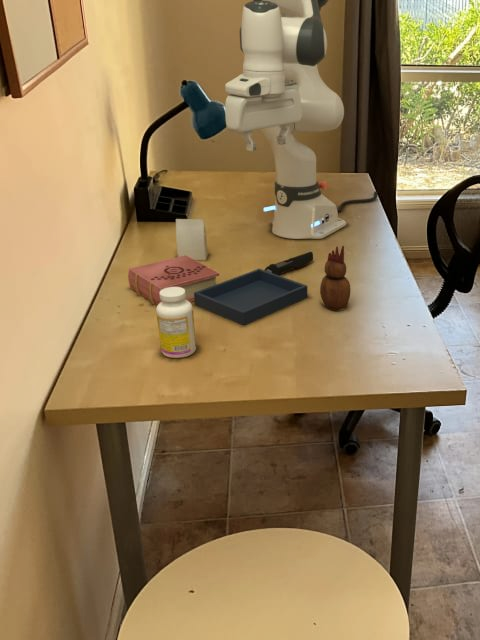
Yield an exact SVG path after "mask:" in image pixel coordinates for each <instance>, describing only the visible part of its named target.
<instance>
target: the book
mask: <svg viewBox="0 0 480 640" xmlns="http://www.w3.org/2000/svg"><path fill="white" fill-rule="evenodd" d="M217 277H220V272H219V271H217V270H215V269H213V268H212V267H209V266H208V265H206V264H204V263H202V262H200V261H199V260H194V259H193V258H191V257H189V256H187V255H184V256H180V257H178V256H176V257H172V258H168V259H164V260H159V261H156V262H151V263H147V264H143V265H138V266H134V267H130V268H128V273H127V279H128V284H129V287H130V289H131V290H132V291H133V292H135V293H137V295H138V296H142V298H144V299H146V300H147V301H150V302H151V304H152V305H155V306H156V307H157V306H158V304H159V303H161V302H162V301H161V299H160V291H161V290H162V289H164V288H168V287H181V288H183V289H185V292H186V298H185V300H187V301H189V302H190V303H191V302H195V300H194V293H195V292H197V291H200V290H203V289H206V288H208V287H211V286H214V285H216V284H217V281H216V279H217Z"/></svg>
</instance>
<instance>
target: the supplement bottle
mask: <svg viewBox="0 0 480 640" xmlns="http://www.w3.org/2000/svg"><path fill="white" fill-rule="evenodd" d="M185 298H186V292H185V289H183V288H181V287H168V288H164V289H162V290H161V291H160V299H161V301H162V302H161V303H159V304H158V306H157V305H156V309H155V313H156V321H157V328H158V329H157V330H158V338H159V342H160V343H159V344H160V350H161V353H162V355H163V356H165V357H167V358H169V359H184V358H186V357H189V356H191V355H193V354H195V352H196V351H197V339H196V329H195V328H196V327H195V320H194V319H195V318H194V309H193V305H192V303H191V302H189V301H187V300H185Z"/></svg>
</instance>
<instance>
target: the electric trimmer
mask: <svg viewBox="0 0 480 640" xmlns="http://www.w3.org/2000/svg"><path fill="white" fill-rule="evenodd" d="M313 260H314V253H313V252H312V251H308V252H305V253H301V254H300V255H296V256H294V257H290V258H288V259H285V260H282V261H279V262H277V263H270V264H269V265H267V266H266V267H265V269H264V270H265V271H267V272H270V273H273V274H276V275H279V276H280V275H282V274H284V273H287V272H289V271H292V270H299V269H300V268H302V267H304V266H306V265H307V264H309V263H311V262H312V261H313Z"/></svg>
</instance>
